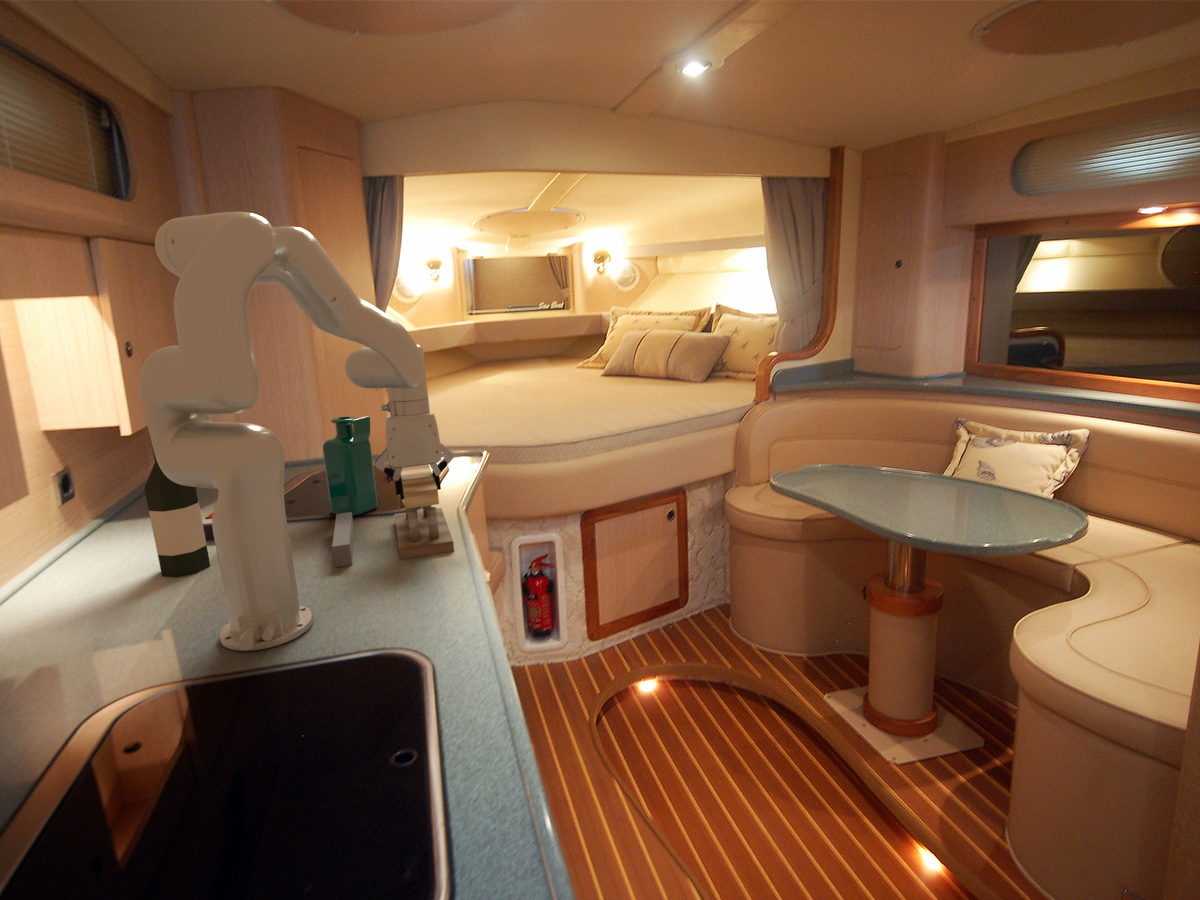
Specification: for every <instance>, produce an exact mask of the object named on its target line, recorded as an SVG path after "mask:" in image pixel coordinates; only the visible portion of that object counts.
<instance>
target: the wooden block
mask: <svg viewBox="0 0 1200 900" xmlns="http://www.w3.org/2000/svg"><path fill="white" fill-rule="evenodd" d="M431 469H432V468H431V466H430V464H429V465H421V466H413V467H404V468H402V471H401V474H400V476H401V479H402V486H403V495H404V499H403V501H404V500H405V502H404V506H405V505H406V509H407V508H414V509H415V508H421V507H422V508H423V506H429V505H431V506H435V505H440V501H439V500H440V499H439V490H438V489H437V486H436V483H435V480H434V478H433V475H432V470H431Z"/></svg>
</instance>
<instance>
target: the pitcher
mask: <svg viewBox="0 0 1200 900" xmlns="http://www.w3.org/2000/svg"><path fill="white" fill-rule="evenodd" d="M330 423H331V424H335V430H336V436H335V437H332V438H329V439H327V440H326V441H324V442H323V445H322V452H323V461H324V467H325V469H324V470H325V475H326V477H325V478H326V481H327V482H326V483H327V490H328V497H329V502H330V505H329V506H330V510H331V513H332V514H333V515H336V514H341V513H348V512H352V517H355V516H354V515H358V516H360V515H359V514H361V515H363V514H365V513H364V512H366V513H368V512H370V511H372V510H374V509H377V508H378V506H379V504H378V503H379V502H378V495H377V488H376V487H377V486H376V478H375V471H374V470H375V469H374V463H373V462H374V461H373V455H372V454H373V453H372V445H371V441H370V436H371V418H370V416H369V415H364V416H361V417H357V418H356V417H355V416H350V415H349V416H339V417H333V418H332V419H330ZM367 511H368V512H367ZM362 513H363V514H362Z"/></svg>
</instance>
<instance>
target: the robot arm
mask: <svg viewBox="0 0 1200 900" xmlns="http://www.w3.org/2000/svg"><path fill="white" fill-rule="evenodd" d="M154 238H155V239H154V248H155V254H156V255H157V258H158V260H159V261H160V262H161V264H162V266H164V268H165V269H166V270H168V271H169V272H170V273H172V274H173V275H174V276H177V277H179V279H178V282H177V286H176V288H175V292H174V298H173V314H174V315H173V316H174V320H175V327H176V332H177V333H176V334H177V339H178V340H177V341H178V345H168V346H165V347H161V348H158V349H157V350H155V351H153V352H152V353H151V354H150V355H149V356H148V357H147V358H146V359H145V361H144V363H143V365H142V366H141V370H140V374H139V379H138V380H139V384H138V386H139V394H140V400H141V404H142V408H143V413H144V417H145V420H146V425H147V428H148V429H147V430H148V432H149V438H151V439H150V442H152V444H151V447H152V446H153V449H152V451H153V450H154V453H155V457H156V460H157V462H158V465H159V467H160V469H161V470H162V472H163V473H164V474H165V476H166V477H168V478H169V479H170V480H171V481H173V482H175V483H177V484H180V485H184V486H191V487H196V488H202V489H203V488H204V489H211V490H212V489H213V490H217V491H218V496H217V499H216V503H215V506H214V508H213V512H212V513H213V516H212V528H213V534H214V540H215V541H214V543H215V548H216V555H217V559H218V566H219V572H220V576H221V577H220V578H221V582H222V587H223V594H224V598H225V604H226V605H225V606H226V609H227V615H228V621H229V622H228V623H226V624H225V625H224V626H223V628H221V629H220V632H219V641H220V643H221V645H223V647H225V649H226V648H227V649H229V650H233V651H239V652H240V651H241V652H249V651H250V652H251V651H259V650H265V649H269V648H273V647H276V646H281V645H283V644H286V643H288V642H290V641H292V640H295V639H297V638H298V637H300V636H301V635H303V634H304V633H306V632H307V631H308V630H309V629H310V628H311V626H312V625H313V623H314V616H313V615H314V614H313V612H312V610H311V609H310V608H308V607H306V606H304V605H301V603H300V599H299V593H298V592H299V591H298V586H297V585H298V584H297V579H296V573H295V572H296V571H295V565H294V560H293V553H292V547H291V546H292V545H291V539H290V532H289V527H288V520H287V514H286V513H287V512H286V506H285V505H286V504H285V497H284V496H285V495H284V492H285V491H284V481H285V480H284V478H285V465H286V464H285V463H286V456H285V450H284V446H283V444H282V441H281V439H280V438H279V437H278V436H277V434H276V433H274V432H273V431H271V429H268V428H266V427H264V426H261V425H259V424H255V423H249V422H235V421H234V422H231V421H213V417H212V416H213V415H218V416H219V415H234V414H235V415H236V414H240V413H244V412H246V411H249V410H250V409H251V408H253V407H254V406H256V405H255V404H256V403H257V401H258V399H259V396H260V380H259V379H260V378H259V374H258V367H257V364H256V357H255V353H254V347H253V343H252V342H253V341H252V338H251V333H250V326H249V320H248V319H249V318H248V303H249V297H250V294H251V291H252V289H253V288H254V286H269V285H271V286H272V285H278V286H281V287H282V288H283V289H284V291H285V292H286V293H287V294H288V295H289V296H290V297H291V299H292V300H293V301H294V302H295V303H296V305H297V306H298V307H299V309H301V311H302V312H303V314H304V315H305V316H306V317H307V318H308V320H309V322H311V324H313V326H315V328H317V329H318V330H321V331H323V332H326V333H327V334H330V335H333V336H335V337H338V338H341V339H345V340H348V341H351V342H355V343H358V344H360V345H362V346H364V347H360V348H357V349H355V350H354V351H353V350H352V352H351V353H349V355H348V356H347V358H346V361H345V363H344V370H345V374H346V376H347V379H348V380H349V381H350V382H351V383H352V384H354V385H355V386H357V387H360V388H363V389H364V388H365V389H386V391H387V398H388V399H387V401H386V402H385V403H382V404H380V405H381V411H382V412H388V413H389V415H387V416H386V420H385V421H386V422H385V438H386V439H385V440H386V448H385V449H384V450H383V452H381V454H380V455H379V456H378V457H377V459H376V460H375V461H374V466H375V468H377V469H379V470H380V471H382V472H383V473H384V474H385V475H387V476H388V477H390V478H391V479H392V480H393V481H394V487H395V494H396V496H399V498H400V501H402V500H403V501H404V495H403V486H402V479H401V476H400V474H401V471H402V468H404V467H413V466H421V465H429V467H430V469H432V470H431V472H432V475H433V478H434V480H435V483H436V486H437V489H438V491H440V490H442V488H441V477H440V475H441V474H442V472H443V471H444V470H445V469H446V468H447V466H448V465H449V464H450V463H451V462H452V461H453V460H454V458H455V453H454V452H453V451H451V449H449V448H447V447H446V446H445V445H444V444H443V443H441V440H440V438H441V437H440V433H439V427H438V423H437V419H436V415H435V413H434V412H433V411H431V410H430V402H429V392H428V381H427V372H426V363H425V361H426V360H425V353H424V349H423V347H422V345H420V344H418V343H416V341H415V340H414V339H413V337H412V335H411V334H410V333H409V332H408V330H407V329H406V328H405V326H404V325H402V324H401V323H400V322H398V320H396V319H394V318H393V317H392V316H391V315H389V314H387V313H386V312H384V311H383V310H381V309H379V308H378V307H376V306H374V305H373V304H372V303H370V302H368V301H366V300H365V299H363V298H361V297H360V296H358V295H357V293H356V292H355V291H354V290H353V288H352V287H351V286H350V284H349V282H348V281H347V279H346V278H345V277H344V275H343V274H342V273H341V271H340V270H339V268H338V267H337V266H336V265H335V263H334V262H333V260H332V259H331V257H330V256H329V254H328V253H327V252H326V251H325V249H324V248H323V247H322V245H321V244H320V242H319V241H318V239H316V237H315V236H314V235H313V234H312V233H311V232H309V231H308V230H307V229H304V228H303V227H297V226H291V225H290V226H287V225H285V226H273V225H272V224H271V223H270V222H269V220H267V219H266V218H265V217H263V216H262V215H261V216H260V215H259V214H256V213H253V212H247V211H224V212H214V213H207V214H200V215H199V214H198V215H188V216H181V217H180V216H179V217H176V218H172V219H170V220H168V221H167V220H166V222H164V223H163V224H161V226H159V228H158V230H157V232H156V234H155V237H154ZM442 455H444V457H443V458H442ZM387 459H388V460H387ZM386 461H388V464H389V466H388V465H387V464H385V462H386ZM391 467H392V468H391Z"/></svg>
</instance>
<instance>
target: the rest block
mask: <svg viewBox="0 0 1200 900" xmlns="http://www.w3.org/2000/svg"><path fill="white" fill-rule="evenodd" d="M335 515H336V516H335V523H334V531H333V536H332V537H333V538H332V543H331V547H332V548H331V549H332V556H333V557H332V558H333V563H334V567H335V568H339V567H343V566H344V567H345V566H346V567H347V566H352V565H353V556H354V555H353V554H354V534H355V528H354V519H353V516H352V512H348V513H341V514H335Z"/></svg>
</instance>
